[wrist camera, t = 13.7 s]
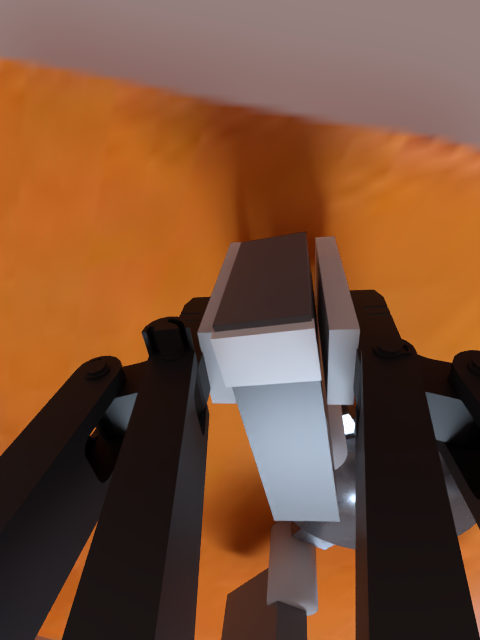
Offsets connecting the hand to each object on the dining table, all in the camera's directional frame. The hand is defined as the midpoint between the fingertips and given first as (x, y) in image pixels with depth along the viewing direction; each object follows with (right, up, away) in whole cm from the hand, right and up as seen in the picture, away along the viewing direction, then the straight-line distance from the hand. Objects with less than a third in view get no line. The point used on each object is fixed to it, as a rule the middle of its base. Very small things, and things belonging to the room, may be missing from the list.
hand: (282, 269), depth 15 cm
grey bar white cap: (+1, -2, +3) cm, 3 cm away
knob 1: (+1, -22, +16) cm, 27 cm away
